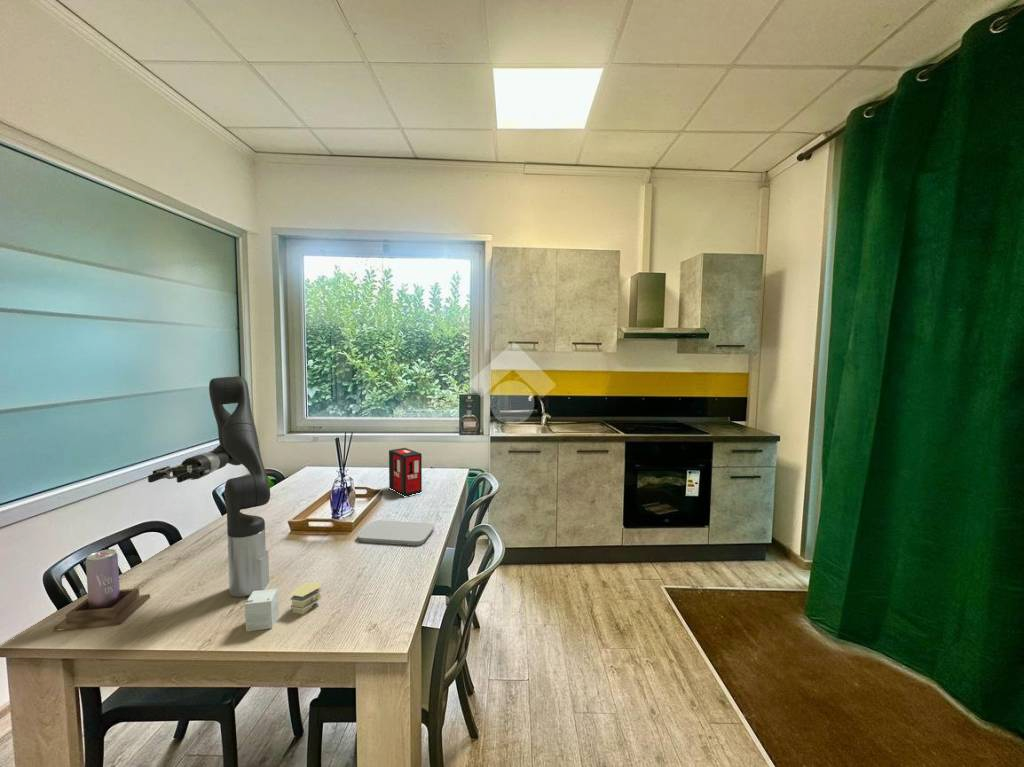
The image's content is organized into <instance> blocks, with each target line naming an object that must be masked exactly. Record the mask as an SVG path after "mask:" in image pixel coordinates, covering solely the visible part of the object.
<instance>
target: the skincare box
mask: <svg viewBox="0 0 1024 767" xmlns="http://www.w3.org/2000/svg"><path fill="white" fill-rule="evenodd" d="M279 615H280V602H279V589H278V588H271V589H264V590H260V591H253V592H252V594H251V595H249V597H248V598H247V600H246V601H245V603H244V618H245V620H244V621H245V631H246V632H255V631H262V630H269V629H273V627H274V626H275V623H276V621H277V619H278V617H279Z"/></svg>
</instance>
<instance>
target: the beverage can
mask: <svg viewBox="0 0 1024 767" xmlns="http://www.w3.org/2000/svg"><path fill="white" fill-rule="evenodd" d="M118 555H119V554H118V552H117V550H116V549H113V548H109V549H104V550H103V549H102V550H99V551H95V552H93V553H90V554H89V555H87V556H86V561H85V571H86V583H87V585H86V586H87V598H88V603H89V610H93V609H103V608H111V607H113V606H114V605H115V604H116V603H118V602H119V601H120V590H121V589H120V588H121V587H120V575H119V574H120V573H119V558H118V557H119V556H118Z"/></svg>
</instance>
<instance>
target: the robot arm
mask: <svg viewBox="0 0 1024 767" xmlns="http://www.w3.org/2000/svg"><path fill="white" fill-rule="evenodd" d="M208 392H209V394H208V395H209V399H210V403H211V408H212V412H213V414H214V415H213V416H214V418H215V421H216V425H217V432H218V433H217V434H218V441H219V444H218V445H217V446H216V447H215V448H214V449H213V450H211V451H207V452H203V453H199V454H195V455H193V456H190V457H188V458H185V459H184V460H183V461H182V462H181V464H179V465H176V466H170V465H168V466H164V467H160V468H158V469H155V470H152V474H150V475H147V482H148V483H153V482H156V481H159V480H162V479H167V480H172V479H176V483H182V482H185V481H189V480H193V481H195V480H199V479H201V478H203V477H205V476H208V475H210V474H212V473H213V472H215V471H217V470H219V469H222V468H224V467H226V465H227V464H229V465H232V466H240V465H242V466H244V468H246V470H247V471H248V472H249V475H245V476H239V477H233V478H229V479H228V480H226V481H225V483H224V484H225V485H224V499H225V510H226V523H227V524H226V526H227V527H226V528H227V533H226V535H227V559H228V584H229V585H228V586H229V588H228V589H229V594H230V595H231V596H232V597H235V598H237V597H238V598H240V597H241V598H242V597H247V596H249V597H250V595H251V594H252V592H253V591H260V590H265V588H266V587H267V585H268V584H269V583H270V565H269V564H270V562H269V557H270V556H269V551H268V550H266V546H267V545H266V522H265V519H264V518H263V517H262V516H259V515H252V514H245V513H243V512H241V511H242V510H247V509H248V510H249V509H251V508H256V507H257V508H258V507H261V506H264V505H267V504H268V503H269V502H270V499H271V488H270V483H269V479H268V476H267V473H266V469H265V466H264V462H263V460H262V455H261V451H260V450H261V449H260V443H259V437H258V432H257V429H256V424H255V420H254V418H253V417H254V416H253V413H252V406H251V399H250V390H249V386H248V382H247V380H246V377H245V378H244V377H243V376H224V377H213V378H211V379H210V381H209V384H208ZM231 404H233V405H234V404H237V406H236V408H235V409H234V411H233V412H232V413H230V412H229V411H228V410H227V409H226V408H225V406H224V405H231ZM171 473H172V474H171Z"/></svg>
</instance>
